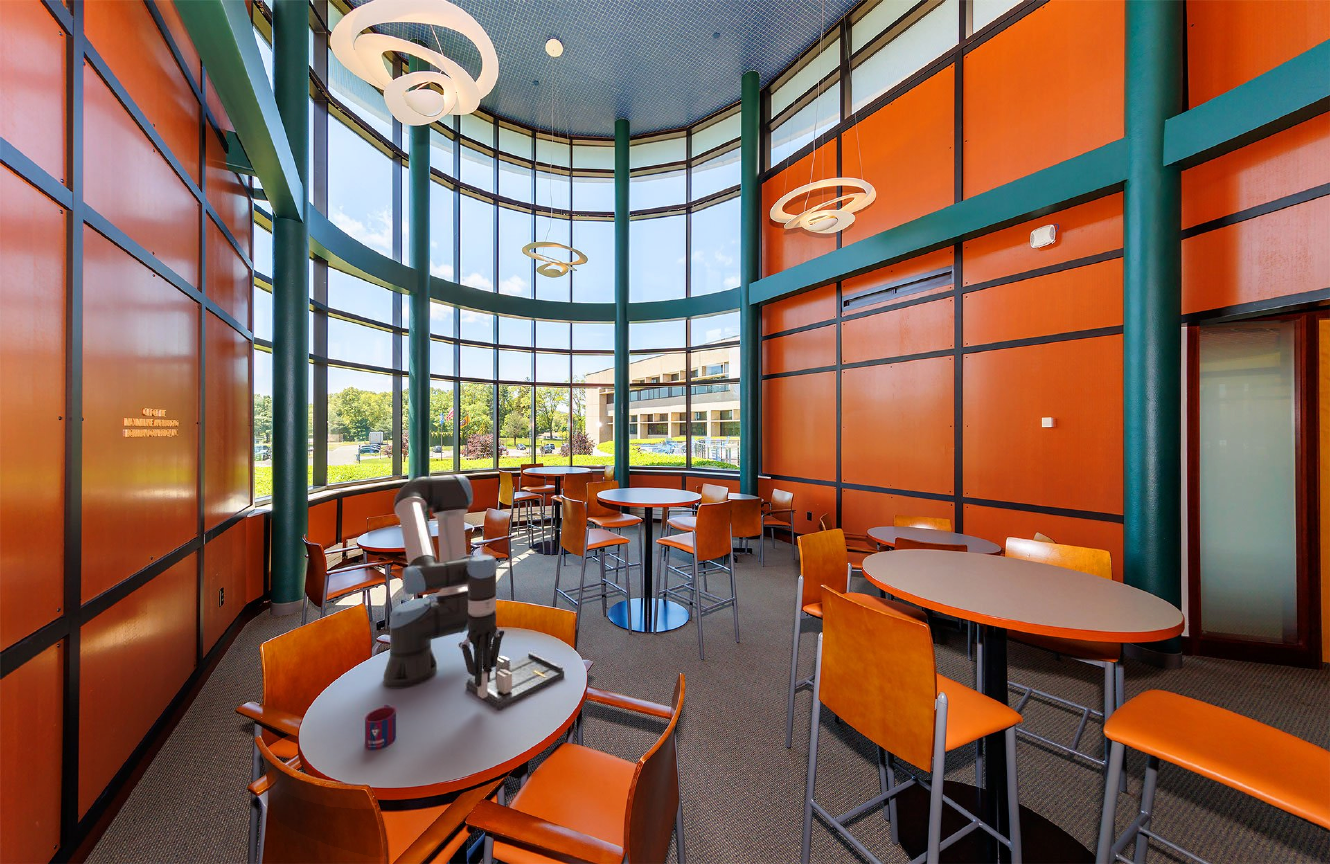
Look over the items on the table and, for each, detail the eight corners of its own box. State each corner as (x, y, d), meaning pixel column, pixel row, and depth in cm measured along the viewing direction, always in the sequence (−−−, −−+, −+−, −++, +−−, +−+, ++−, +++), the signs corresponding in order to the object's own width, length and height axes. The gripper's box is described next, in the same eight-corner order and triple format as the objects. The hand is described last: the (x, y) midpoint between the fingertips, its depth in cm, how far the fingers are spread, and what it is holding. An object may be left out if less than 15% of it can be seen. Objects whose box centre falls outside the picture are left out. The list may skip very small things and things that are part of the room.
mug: (360, 751, 113) (360, 723, 114) (377, 726, 123) (377, 701, 123) (390, 747, 115) (390, 720, 115) (404, 723, 125) (404, 698, 125)
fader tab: (496, 689, 137) (496, 670, 137) (504, 685, 139) (504, 667, 139) (504, 693, 134) (504, 675, 134) (512, 690, 136) (511, 671, 136)
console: (466, 689, 141) (466, 664, 141) (530, 660, 159) (530, 639, 159) (499, 710, 130) (498, 683, 130) (564, 677, 148) (564, 653, 148)
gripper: (466, 622, 124) (467, 711, 124) (510, 608, 134) (510, 690, 134) (453, 615, 129) (453, 701, 128) (495, 602, 139) (496, 681, 138)
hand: (482, 695), depth 131 cm, fingers closed
